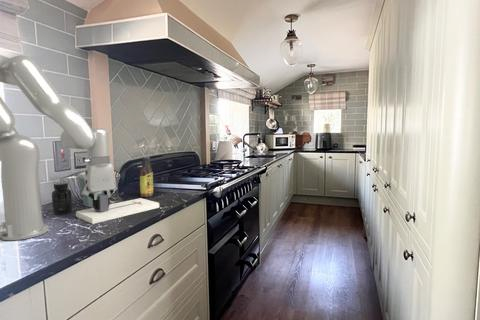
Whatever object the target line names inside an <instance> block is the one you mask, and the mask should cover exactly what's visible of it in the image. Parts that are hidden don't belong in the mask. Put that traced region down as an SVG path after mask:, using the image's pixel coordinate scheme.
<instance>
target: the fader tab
mask: <svg viewBox="0 0 480 320" xmlns="http://www.w3.org/2000/svg"><path fill="white" fill-rule="evenodd" d="M97 198H98V200H99V210H96V209H95V210H96V211H99V212H104V211H108V210H109V208H108V195H106V194H104V193H103V192H102V193H101V194H98V197H97Z"/></svg>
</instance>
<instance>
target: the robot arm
mask: <svg viewBox="0 0 480 320" xmlns="http://www.w3.org/2000/svg"><path fill="white" fill-rule="evenodd" d="M0 83H4V84H5V85H6V84H7V85H12V86H16V87H18V89H20V91H21V92H22V93H23V95H24V96H25V97H26V98H27V99H28V100H29V102H30V103H31V104H32V106H33V107H34V108H35V109H36V110H37V111H38V112H39V113H41V114H42V115H44V116H45V117H48V118H50V119H51V120H53V121H54V122H55V123H57V125H59V127H60V128H62V130H63V131H62V132H61V134H60V137H59V138H60V143H62V145H63V146H64V147H66V148H69V149H74V150H86V153H87V157H86V158H84V160H83V162H84V163H86V164H87V165H86V166H85V170H84V172H85V187H84V190H83V192H82V193H81V195H82V194H84V195H87V196H89V197H90V198H91V199H92V200H93V206H92V208H94V209H96V210H99V200H98V198H97V197H98V192H100V191H102V192H103V194H106V195H108V208H109V205H110V204H111V203H110V198H111V196H112V194H113V193H114V192H116V191H117V190H118V186H117V183H116V182H117V181H116V174H115V170H114V165H113V163H111V158H110V140H109V138H110V136H109V130H108V129H107V128H94V127H93V128H91V127H90V125H89V124H88V123H87V121H86V119H85V118H84V117H83V116H82V114H81V113H80V112H78V111H77V109H75V108H74V106H72V105H71V104H70V103H69V101H67V100H66V99H64V97H62V95H61V94H60V93H59V91H58V90H57V89H56V87H55V86H54V85H53V83H52V81H50V79H49V78H48V76H47V75H46V74H45V72H44V71H43V70H42V68H41V67H40V66H39V64H38V63H37V62H36V61H35V60H34V59H33V58H31V57H29V56H27V55H23V54H21V55H14V56H11V57H7V56H5V55H2V54H0ZM15 123H16V117H15V115H14V114H13V112H12V111H11V109H10V108H9V107H8V105H7V104H6V102H5V101H4V100H3V98H2V97H1V96H0V162H1V164H0V165H1V168H0V178H1V189H2V190H1V191H2V199H3V201H2V202H3V209H4V211H3V212H4V221H2V223H1V224H0V239H1V240H4V241H18V240H27V239H31V238H36V237H38V236H42V235H43V234H46V233H47V232H48V231H49V229H50V228H49V225H48V224H44V223H43V212H42V211H43V210H42V199H41V198H42V197H41V196H42V195H41V194H42V193H41V186H40V185H41V184H40V156H41V155H40V153H41V152H40V148H39V146H38V144H37V142H36V141H35V140H34V139H32V138H31V137H29V136H26V135H23V134H20V133H19V132H18V130H17V129H16V127H15ZM88 191H90V192H91V193H89V192H88Z"/></svg>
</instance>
